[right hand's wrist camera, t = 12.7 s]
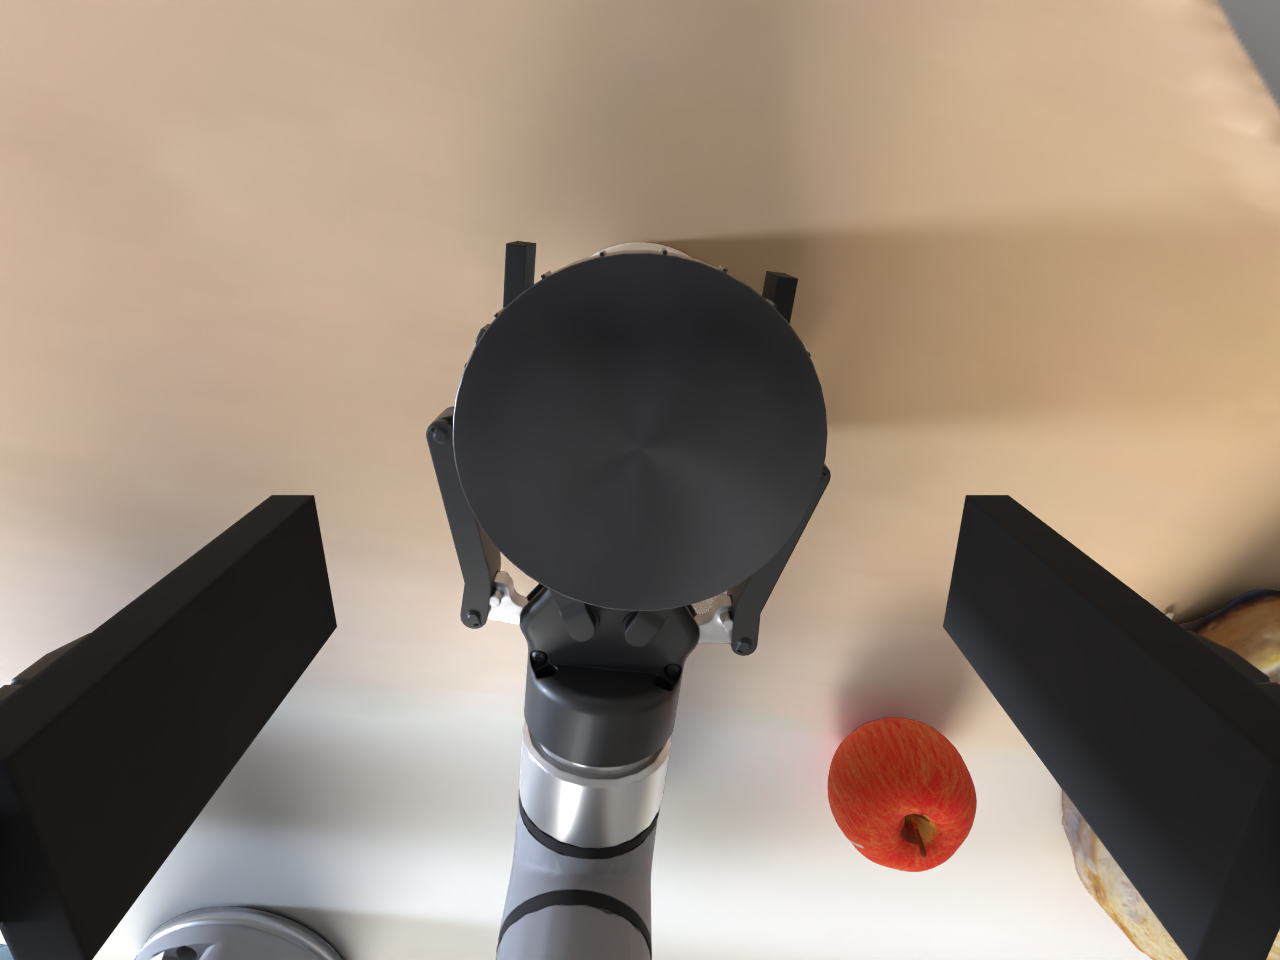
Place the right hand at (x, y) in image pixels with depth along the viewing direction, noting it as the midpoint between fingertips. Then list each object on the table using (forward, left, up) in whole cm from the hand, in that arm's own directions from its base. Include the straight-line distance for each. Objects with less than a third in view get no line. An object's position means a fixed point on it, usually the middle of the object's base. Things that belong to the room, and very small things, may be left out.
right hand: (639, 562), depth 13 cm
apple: (+9, +28, -24) cm, 38 cm away
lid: (0, 0, -7) cm, 7 cm away
